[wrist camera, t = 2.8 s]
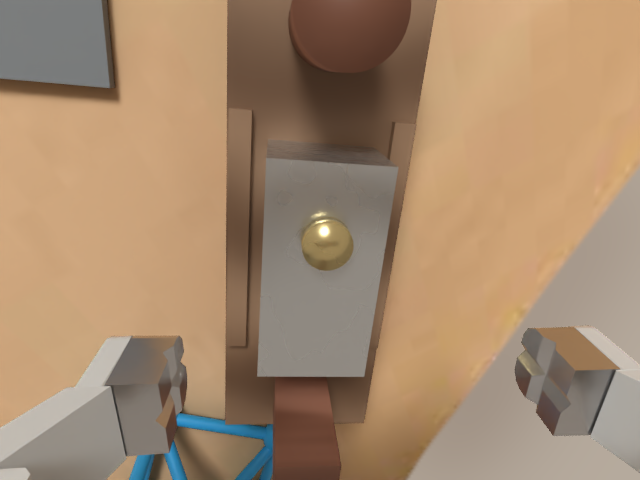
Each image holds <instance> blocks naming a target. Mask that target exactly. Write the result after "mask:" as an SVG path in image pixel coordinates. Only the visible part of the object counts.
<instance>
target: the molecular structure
mask: <svg viewBox="0 0 640 480" xmlns="http://www.w3.org/2000/svg"><path fill="white" fill-rule="evenodd" d="M176 421H177V426H180V427H187V428H193V429H199V430H206V431H212V432H218V433H225V434H231V435H238V436H244V437H250V438H257V439H263V441H264V445H265V446H264V447H263V448H262V450H261V451H260V452H259V453H258V454H257V455H256V456H255V457H254V459H253V460H252V461H251V462H250V463H249V464H248V465H247V466H246V467H245V469H244V470H243V471H242V472H241V473H240V474H239V475H238V476H237V478H236V479H235V480H251V479H252V478H253V477H254V476H255V475H256V474H257V472H258V471H259V470H260V469H261V468H262V467H263V466H264V467H263V470H262V472H261V475H260V478H259V480H270V479H271V477H272V474H273V424H267V426H266V427H263V426H257V425H250V424H239V425H225V420H220V419H214V418H208V417H202V416H195V415H189V414H183V413H178V414H177V415H176ZM164 456H165V459H166V462H167V465H168V468H169V470H170V473H171V476H172V479H173V480H188V479H187V477H186V474H185V471H184V468H183V465H182V462H181V459H180V457H179V454H178V451H177V448H176V445H175V442H174V439H173V442H172V446H171V449H170V452H169V453H164ZM154 457H155V454H150V455H138V456H137V459H136V461H135V464H134V467H133V470H132V473H131V475H130V478H129V480H149V476H150V472H151V468H152V464H153V460H154ZM264 464H265V465H264Z"/></svg>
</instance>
